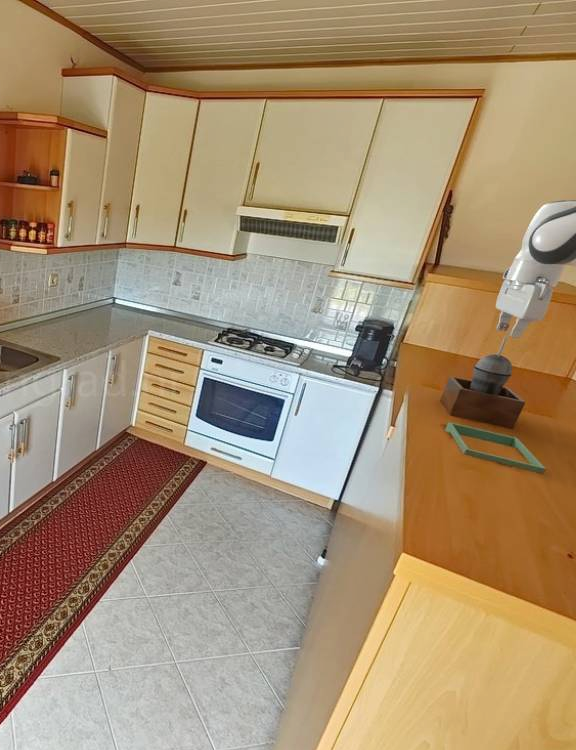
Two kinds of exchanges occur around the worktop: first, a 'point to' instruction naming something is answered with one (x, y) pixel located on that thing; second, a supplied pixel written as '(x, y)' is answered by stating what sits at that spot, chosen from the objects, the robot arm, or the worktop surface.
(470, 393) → the brown rectangular open box
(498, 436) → the green rectangular frame
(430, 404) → the worktop surface
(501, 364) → the beverage cup
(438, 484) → the worktop surface
